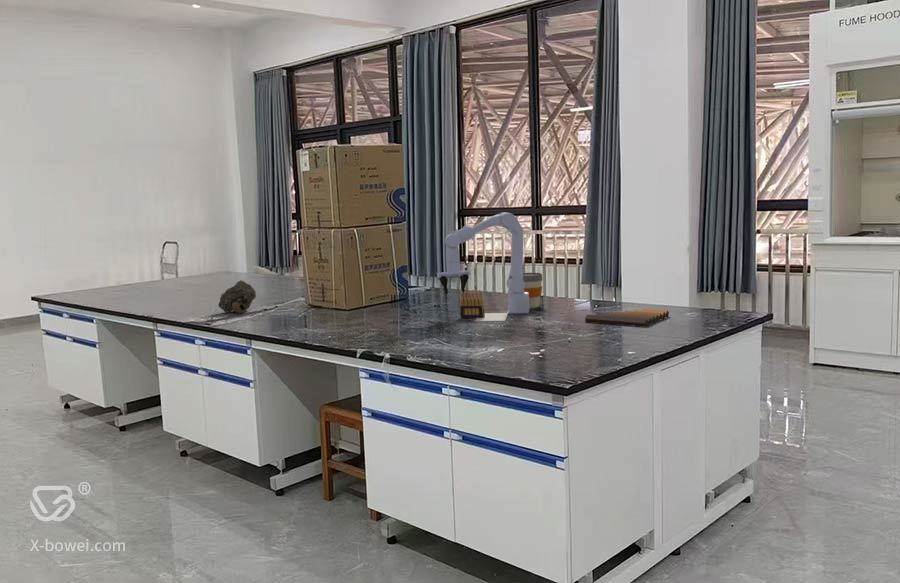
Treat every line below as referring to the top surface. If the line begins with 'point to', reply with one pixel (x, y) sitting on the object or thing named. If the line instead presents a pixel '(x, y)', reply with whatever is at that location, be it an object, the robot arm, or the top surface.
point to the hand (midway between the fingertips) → (454, 292)
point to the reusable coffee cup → (533, 288)
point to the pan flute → (629, 317)
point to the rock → (237, 298)
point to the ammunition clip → (471, 305)
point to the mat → (493, 317)
